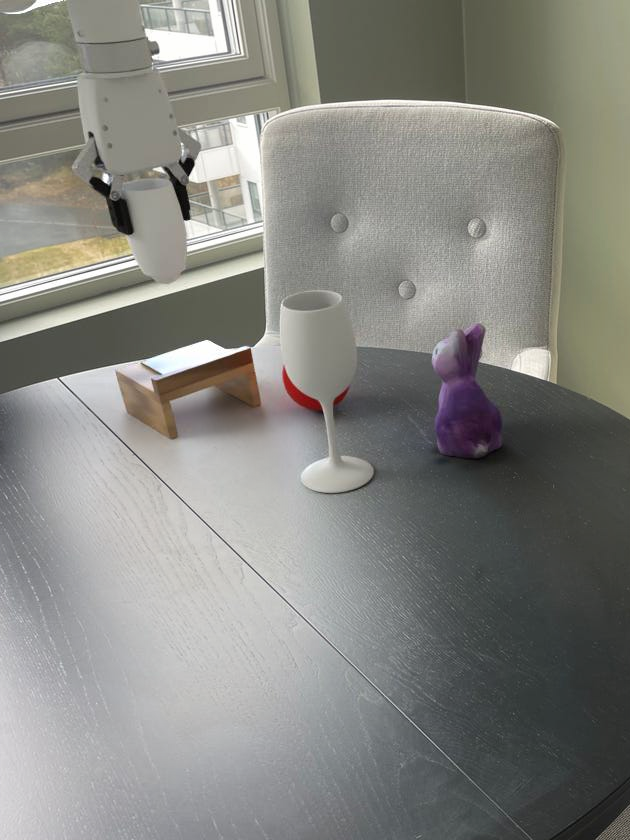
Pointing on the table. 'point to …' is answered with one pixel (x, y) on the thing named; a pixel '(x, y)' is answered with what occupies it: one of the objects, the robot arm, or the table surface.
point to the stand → (185, 381)
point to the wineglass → (322, 376)
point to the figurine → (464, 398)
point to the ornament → (305, 399)
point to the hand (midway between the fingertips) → (154, 224)
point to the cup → (156, 228)
